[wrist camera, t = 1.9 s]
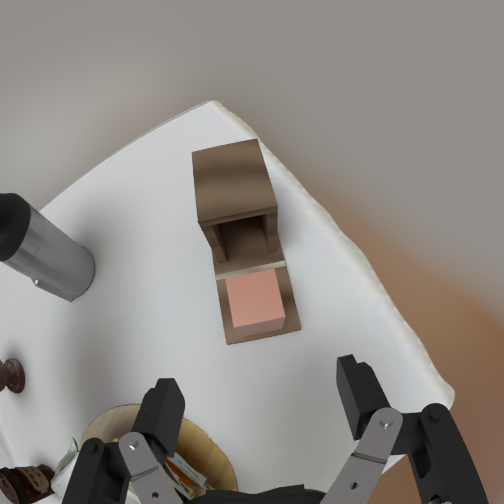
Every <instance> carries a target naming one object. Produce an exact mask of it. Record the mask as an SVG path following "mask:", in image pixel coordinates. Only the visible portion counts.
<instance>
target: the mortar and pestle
mask: <svg viewBox="0 0 504 504" xmlns="http://www.w3.org/2000/svg"><path fill="white" fill-rule="evenodd" d="M5 386H7V387H8V389H9V390H10V391H11V392H14V393H20V392H21V391H22V390H23V388H24V373H23V369H22V367H21V365H20V363H19V362H18V361H17V360H16V359H8V360H6V361H5V363H4V364H3V363H2V361H1V360H0V391H2V390H3V389H4V388H5Z"/></svg>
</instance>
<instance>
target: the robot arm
mask: <svg viewBox="0 0 504 504" xmlns="http://www.w3.org/2000/svg"><path fill="white" fill-rule="evenodd" d="M0 262H2V263H4V264H6V265H7V266H9V267H11V268H13V269H15V270H16V271H18V272H20V273H22V274H24V275H26V276H27V277H29V278H31V279H32V281H33V283H34V284H35V285H36V286H37V287H39V288H41V289H43V290H45V291H47V292H50V293H52V294H54V295H56V296H58V297H61V298H63V299H65V300H67V301H70V302H71V301H72V300H73V298H75V297H77V296H80V295H81V294H83V293H84V292H85V291H86V290H87V288H88V287H89V285H90V284H91V281H92V279H93V276H94V270H95V264H94V259H93V257H92V255H91V254H90V253H89V252H88V251H87V250H85V249H84V248H83V247H82V246H80V245H79V244H77V243H76V242H75V241H74V240H72V239H71V238H70V237H69V236H67V235H66V234H65V233H63V232H62V231H61V230H60V229H58V228H57V227H56V226H55V225H53V224H52V223H51V222H50V221H49V220H47V219H46V218H45V217H44V216H43V215H41V214H40V213H39V212H38V211H37V210H36V209H34V208H33V207H32V206H31V205H30V204H29V203H27V202H26V201H25V200H24V199H23V198H22V197H21V196H19V195H17V194H15V193H8V194H1V193H0ZM336 381H337V387H338V391H339V394H340V397H341V400H342V404H343V407H344V410H345V413H346V416H347V419H348V423H349V426H350V429H351V432H352V436H353V439H354V441H356V440H359V439H360V442H359V444H358V446H357V447H356V449H355V451H354V453H352V454H351V455H350V457H349V458H348V460H347V462H346V464H345V465H344V467H343V469H342V470H341V472H340V474H339V475H338V477H337V478H336V480H335V482H334V483H333V485H332V486H331V488H330V489H329V491H328V492H327V493H325V492H322V491H318V490H313V489H304V484H301V485H294V486H287V487H279V488H275V489H272V490H269V491H265V492H262V493H258V494H247V493H242V492H236V491H232V490H207V489H206V493H205V495H201V496H197V497H195V498H191V497H190V496H189V494H188V493H187V492H186V491H185V490H184V489H183V487H182V486H181V484H180V483H179V481H178V480H177V478H176V477H175V475H174V474H173V472H172V471H171V469H170V468H169V466H168V464H167V463H166V462H165V459H166V457H168V458H174V454H175V450H176V445H177V441H178V436H179V432H180V427H181V423H182V419H183V414H184V410H185V400H184V397H183V395H182V393H181V391H180V389H179V387H178V385H177V383H176V381H175V379H174V378H159V379H158V381H157V384H156V386H155V388H150V390H149V391H148V392H147V393H146V394H145V396H144V398H143V401H142V404H141V406H140V408H139V409H140V410H139V411H138V414H137V416H136V419H135V422H134V424H133V427H132V430H131V432H129V433H127V434H125V435H124V436H122V438H121V439H120V441H117V442H110V443H104V442H103V441H102V440H101V439H99V438H96V437H93V438H89V439H87V440H86V441H85V442H84V443H83V445H82V447H81V449H80V452H79V455H78V457H77V460H76V463H75V465H74V468H73V471H72V474H71V477H70V479H69V482H68V485H67V488H66V491H65V494H64V498H63V501H62V504H125V502H126V497H127V492H128V487H129V483H130V482H131V485H132V487H133V489H134V491H135V493H136V495H137V497H138V499H139V501H140V502H141V504H366V502H367V500H368V499H369V497H370V495H371V493H372V491H373V489H374V487H375V486H376V484H377V482H378V480H379V478H380V476H381V474H382V472H383V469H384V467H385V465H386V463H387V460H388V457H389V455H402V454H407V455H408V458H409V461H410V464H411V467H412V471H413V474H414V477H415V481H416V484H417V487H418V491H419V495H420V498H421V502H422V504H489V503H488V500H487V497H486V494H485V491H484V488H483V486H482V483H481V480H480V478H479V475H478V473H477V470H476V468H475V466H474V463H473V461H472V459H471V456H470V454H469V452H468V450H467V447H466V445H465V443H464V441H463V439H462V436H461V434H460V432H459V430H458V428H457V426H456V424H455V422H454V420H453V418H452V416H451V414H450V412H449V410H448V409H447V408H446V407H445V406H444V405H442V404H439V403H433V404H429V405H427V406H426V407H425V408H424V409H423V410H422V412H418V413H400V412H399V411H398V410H396V409H394V408H392V407H391V406H390V404H389V402H388V400H387V398H386V396H385V394H384V392H383V390H382V388H381V386H380V384H379V382H378V380H377V377H376V376H375V373H374V371H373V369H372V368H371V367H370V366H369V365H368V364H366V363H365V362H361V363H357V362H356V360H355V358H354V356H353V355H352V354H351V355H346V356H342V357H338V358H337V375H336Z"/></svg>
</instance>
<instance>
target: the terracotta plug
mask: <svg viewBox="0 0 504 504" xmlns="http://www.w3.org/2000/svg"><path fill="white" fill-rule="evenodd" d="M225 280H226V286H227V292H228V298H229V304H230V309H231V315H232V321H233V326H234V328H235V329H236V330H237V331H238V332H239V333H240V334H242V335H243V336H244V337H247V336H252V335H257V334H262V333H267V332H272V331H277V330H281V329H282V327H283V324H284V320H285V313H284V308H283V304H282V299H281V295H280V291H279V286H278V282H277V278H276V274H275V269H269V270H264V271H259V272H255V273H250V274H245V275H240V276H235V277H230V278H225Z"/></svg>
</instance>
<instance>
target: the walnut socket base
mask: <svg viewBox="0 0 504 504" xmlns="http://www.w3.org/2000/svg"><path fill="white" fill-rule="evenodd" d="M192 163H193V175H194V186H195V197H196V207H197V217H198V223H199V225H200V227H201V229H202V231H203V233H204V235H205V237H206V239H207V241H208V243H209V245H210V247H211V249H212V256H213V263H214V270H215V277H216V283H217V289H218V296H219V302H220V308H221V314H222V320H223V326H224V331H225V337H226V343H227V345H230V344H236V343H241V342H247V341H252V340H257V339H262V338H267V337H272V336H276V335H281V334H286V333H290V332H294V331H299V330H301V326H300V322H299V318H298V313H297V309H296V305H295V301H294V297H293V293H292V288H291V284H290V280H289V276H288V272H287V268H286V264H285V260H284V256H283V253H282V249H281V245H280V241H279V237H278V233H277V202H276V199H275V196H274V192H273V189H272V185H271V182H270V179H269V175H268V172H267V169H266V165H265V162H264V159H263V155H262V152H261V149H260V146H259V143H258V139H252V140H246V141H241V142H236V143H231V144H226V145H221V146H216V147H212V148H207V149H203V150H199V151H195V152H192ZM269 269H275V274H276V278H277V282H278V286H279V291H280V295H281V299H282V304H283V308H284V313H285V320H284V324H283V327H282V329H281V330H277V331H272V332H267V333H262V334H257V335H252V336H247V337H244V336H243V335H242V334H240V333H239V332H238V331H237V330H236V329H235V328H234V326H233V321H232V315H231V309H230V304H229V298H228V292H227V286H226V280H225V278H230V277H235V276H240V275H245V274H250V273H255V272H259V271H264V270H269Z"/></svg>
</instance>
